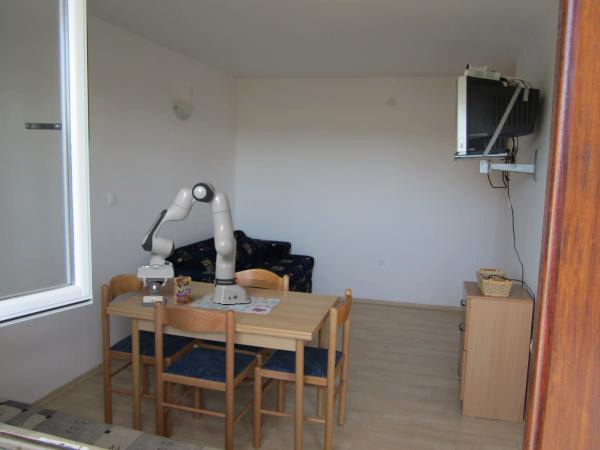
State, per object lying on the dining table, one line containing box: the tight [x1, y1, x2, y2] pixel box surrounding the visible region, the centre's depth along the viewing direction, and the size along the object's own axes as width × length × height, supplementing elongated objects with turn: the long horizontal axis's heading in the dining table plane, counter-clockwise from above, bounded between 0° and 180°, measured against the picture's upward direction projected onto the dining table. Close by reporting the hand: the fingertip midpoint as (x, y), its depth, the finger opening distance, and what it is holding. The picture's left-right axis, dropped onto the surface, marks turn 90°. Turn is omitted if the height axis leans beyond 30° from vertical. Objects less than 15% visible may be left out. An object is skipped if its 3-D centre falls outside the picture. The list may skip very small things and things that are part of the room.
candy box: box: [172, 275, 192, 306], centre depth 259 cm, size 9×4×15 cm, turn 123°
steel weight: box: [149, 281, 161, 296], centre depth 258 cm, size 5×5×8 cm
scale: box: [141, 295, 167, 308], centre depth 257 cm, size 12×12×6 cm
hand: (154, 286), depth 257 cm, fingers open, 8 cm apart
